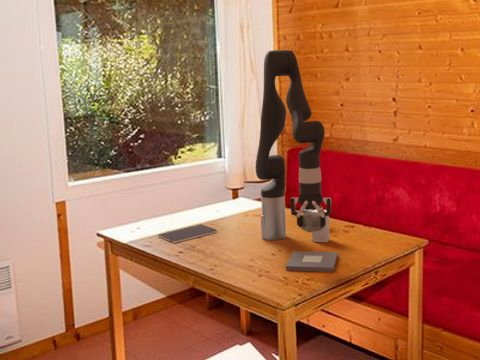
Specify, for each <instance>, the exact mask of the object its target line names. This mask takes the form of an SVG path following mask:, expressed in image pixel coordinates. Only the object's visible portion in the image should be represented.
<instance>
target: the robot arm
mask: <svg viewBox="0 0 480 360" xmlns="http://www.w3.org/2000/svg"><path fill="white" fill-rule="evenodd" d="M263 60H264V61H263V96H262V104H261V105H262V106H261V113H260V115H261V117H260V131H259V140H258V141H259V144H258V148H257V154H256V159H255V173H256V177H257V179H259V180H260V181H261V180H262V181H265V180H271V182H270V183H269V184H267V185H265V186H264V187H262V188H261V190H260V197H261V215H260V225H261V239H262V240H267V241H279V240H283V239H286V237H287V231H286V228H287V227H286V205H285V204H286V201H285V189H286V164H285V159H284V157H283V156H282V155H280V154H273V155H270V153H271V150H272V147H273V145H274V144H275V143H276V141H277V140H278V139H279V137H280V136H281V134H282V133H283V131H284V129H285V126H286V118H287V110H286V106H287V109H288V111H289V114H290V117H291V123H292V137H293V139H294V141H295V142H296V143H298V144H308V143H310V145H309V146H308V147H307V148H304V149H302V150H300V151H299V153H298V168H299V169H298V187H299V189H298V190H299V191H298V192H299V193H298V194H299V195H298V197H294V196H292V197H291V198H290V200H289V201H290V213H291V216H295V217H296V225H297V226H298V228H302V224H301V215H303V210H304V209H306V210H309V209H312V210H315V209H317V211H318V212H319V213H320V215H321V228H323V227H324V226H325V224H326V219H325V217H326V216H329V217H330V216H331V213H332V197H330V196H328V197H323V195H322V171H321V157H320V156H321V150H322V147H323V143H324V142H323V141H324V139H325V134H326V133H325V131H326V130H325V127H324V124H323V123H322V122H321V121H319V120H313V121H312V120H311V121H309V119H310V118H311V117H312V109H311V106H310V104H309V101H308V99H307V97H306V93H305V90H304V86H303V82H302V77H301V72H300V68H299V64H298V63H299V62H298V60H297V57H296V55H295V53H294V51H293V50H289V49H282V50H281V49H278V50H277V49H276V50H268V51H267V52H266V53H265V55H264V59H263ZM287 76H288V77H289V80H290V81H289V82H290V84H289V87H288V90H287V93H286V99H285V100H286V101H285V102H286V106H285V104H284V101H283V100H282V97H280V95H279V93H278V91H277V89H276V88H277V87H276V77H287ZM323 202H324V204H325V205H326V210H327V212H324V210H325V209H323V207H322V205H321V204H322V203H323ZM297 203H299V204H300V205H301V207H300V209H299V210H298V211H297V209H296V205H297Z"/></svg>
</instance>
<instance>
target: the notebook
mask: <svg viewBox="0 0 480 360" xmlns="http://www.w3.org/2000/svg"><path fill="white" fill-rule="evenodd" d="M216 233H217V229H216V228H213V227H211V226H207V225H204V224H197V225H196V224H195V225H193V226H188V227H184V228H181V229H175V230H172V231H167V232H162V233H159V234H158V237H159V238H161V239H164V240H166V241H168V242H170V243H173V244H177V243H180V242H185V241H189V240H192V239H196V238H201V237H204V236H208V235H212V234H216Z"/></svg>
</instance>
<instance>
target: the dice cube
mask: <svg viewBox="0 0 480 360" xmlns="http://www.w3.org/2000/svg"><path fill="white" fill-rule="evenodd" d="M301 224H302V227H301V230H302V231H305V232H306V233H312V232H315V231H320V230H321V216H320V215H317V214H315V213H311V214H305V215H304V214H301Z"/></svg>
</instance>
